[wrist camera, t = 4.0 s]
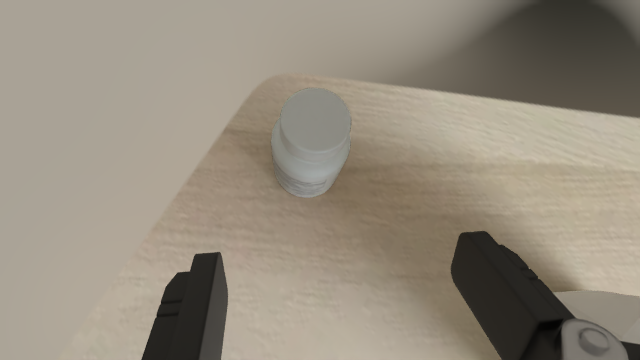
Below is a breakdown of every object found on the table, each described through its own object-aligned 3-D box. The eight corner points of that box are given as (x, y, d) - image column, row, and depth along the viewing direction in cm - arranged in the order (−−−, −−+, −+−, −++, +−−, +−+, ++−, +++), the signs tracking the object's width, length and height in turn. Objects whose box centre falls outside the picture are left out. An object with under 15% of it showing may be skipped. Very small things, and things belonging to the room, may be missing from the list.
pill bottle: (305, 126, 24) (315, 61, 17) (350, 168, 24) (380, 120, 16) (260, 166, 23) (248, 116, 16) (305, 212, 23) (316, 182, 15)
